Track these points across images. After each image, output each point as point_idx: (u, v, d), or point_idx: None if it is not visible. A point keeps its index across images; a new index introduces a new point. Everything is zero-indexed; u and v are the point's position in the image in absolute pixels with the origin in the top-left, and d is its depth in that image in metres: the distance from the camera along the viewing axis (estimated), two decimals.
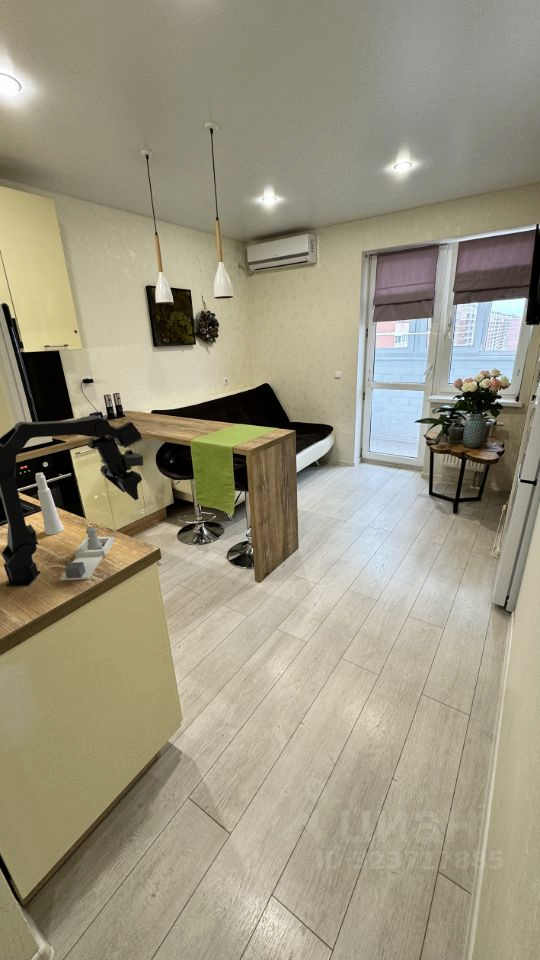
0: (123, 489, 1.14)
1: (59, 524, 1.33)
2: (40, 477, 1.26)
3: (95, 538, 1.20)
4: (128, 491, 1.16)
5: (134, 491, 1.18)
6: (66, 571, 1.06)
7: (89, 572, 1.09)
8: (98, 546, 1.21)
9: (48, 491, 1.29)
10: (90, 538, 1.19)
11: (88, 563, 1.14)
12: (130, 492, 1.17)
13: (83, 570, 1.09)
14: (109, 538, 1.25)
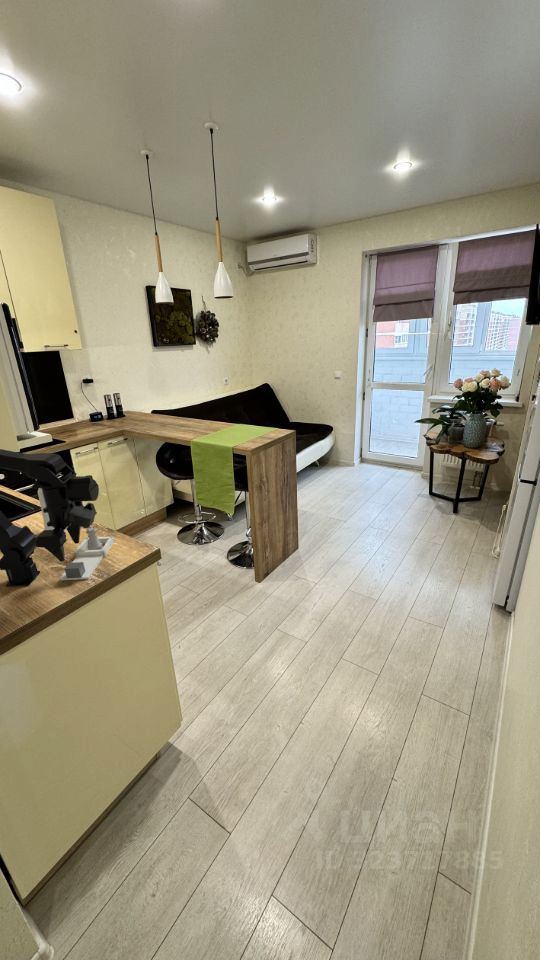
0: None
1: None
2: None
3: (95, 538, 1.20)
4: (49, 549, 0.98)
5: (58, 552, 0.99)
6: (66, 571, 1.06)
7: (89, 572, 1.09)
8: (98, 546, 1.21)
9: None
10: (90, 538, 1.19)
11: (88, 563, 1.14)
12: (52, 551, 0.98)
13: (83, 570, 1.09)
14: (109, 538, 1.25)
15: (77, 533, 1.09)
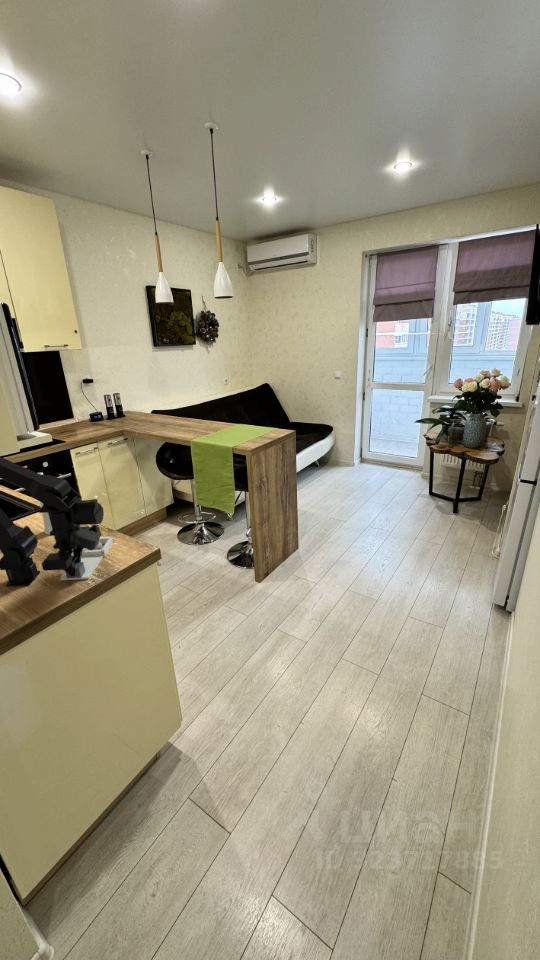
0: None
1: None
2: None
3: None
4: None
5: (69, 568, 1.04)
6: None
7: (89, 572, 1.09)
8: (98, 546, 1.21)
9: None
10: None
11: (88, 563, 1.14)
12: None
13: (83, 570, 1.09)
14: (109, 538, 1.25)
15: (78, 559, 1.09)
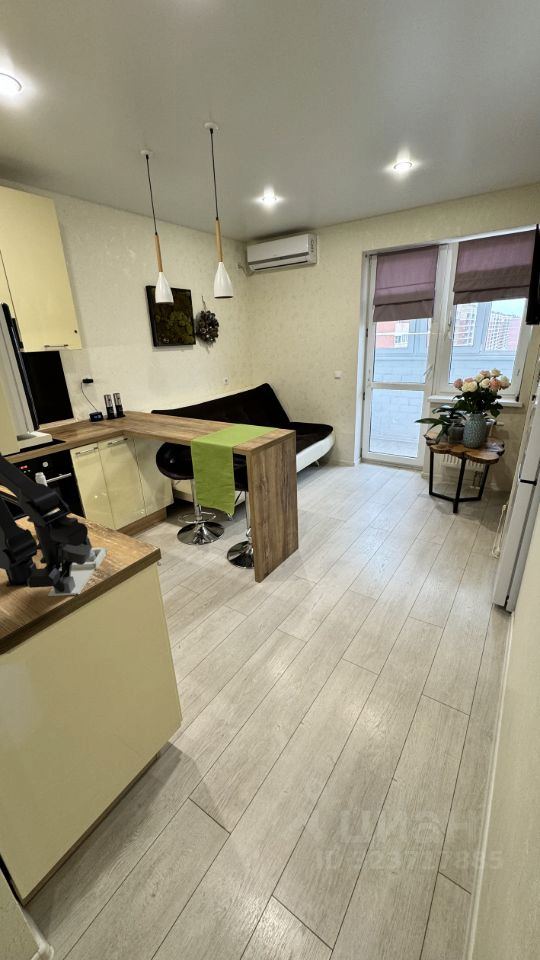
0: None
1: None
2: (40, 477, 1.26)
3: None
4: None
5: (58, 583, 0.98)
6: None
7: (79, 587, 1.03)
8: (91, 556, 1.15)
9: None
10: None
11: (79, 577, 1.07)
12: None
13: (73, 585, 1.02)
14: (102, 549, 1.18)
15: (68, 573, 1.02)
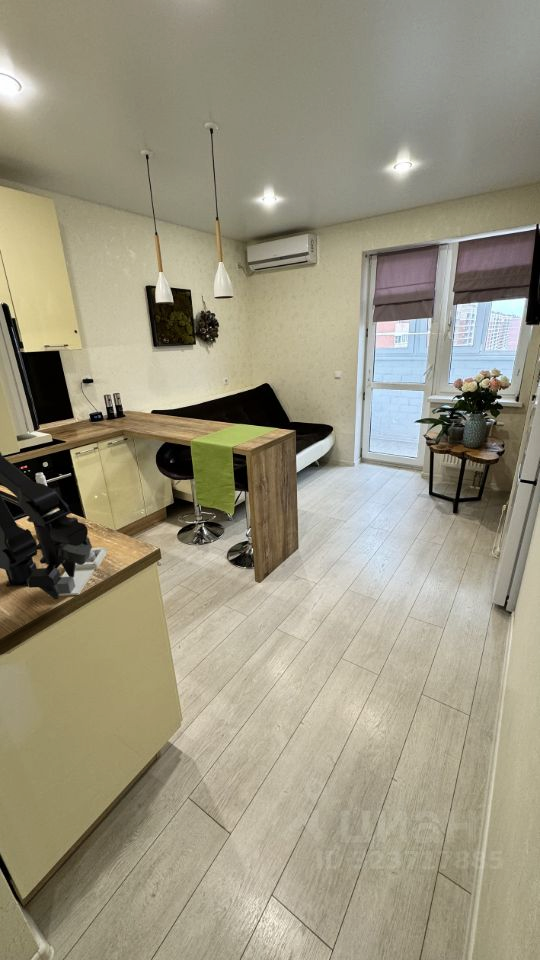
0: None
1: None
2: (40, 477, 1.26)
3: None
4: (42, 588, 0.94)
5: (52, 591, 0.95)
6: None
7: (79, 587, 1.03)
8: (91, 556, 1.15)
9: None
10: None
11: (78, 577, 1.07)
12: (45, 589, 0.95)
13: (73, 585, 1.02)
14: (101, 549, 1.18)
15: (72, 567, 1.05)
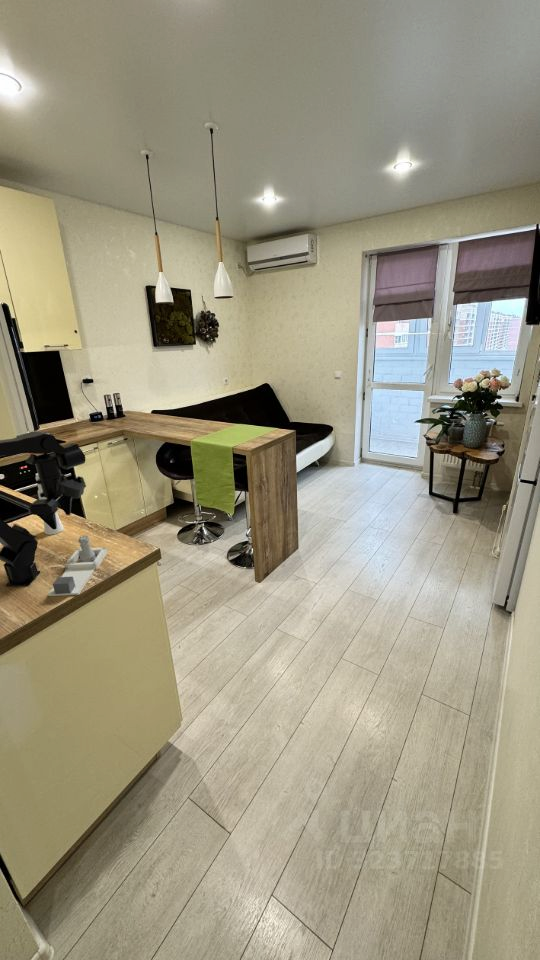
0: None
1: (59, 524, 1.33)
2: None
3: (88, 547, 1.15)
4: (42, 517, 1.07)
5: (51, 520, 1.09)
6: (55, 586, 1.00)
7: (79, 587, 1.03)
8: (91, 556, 1.15)
9: None
10: (82, 547, 1.14)
11: (78, 577, 1.07)
12: (45, 519, 1.08)
13: (73, 585, 1.02)
14: (101, 549, 1.18)
15: (68, 505, 1.18)
